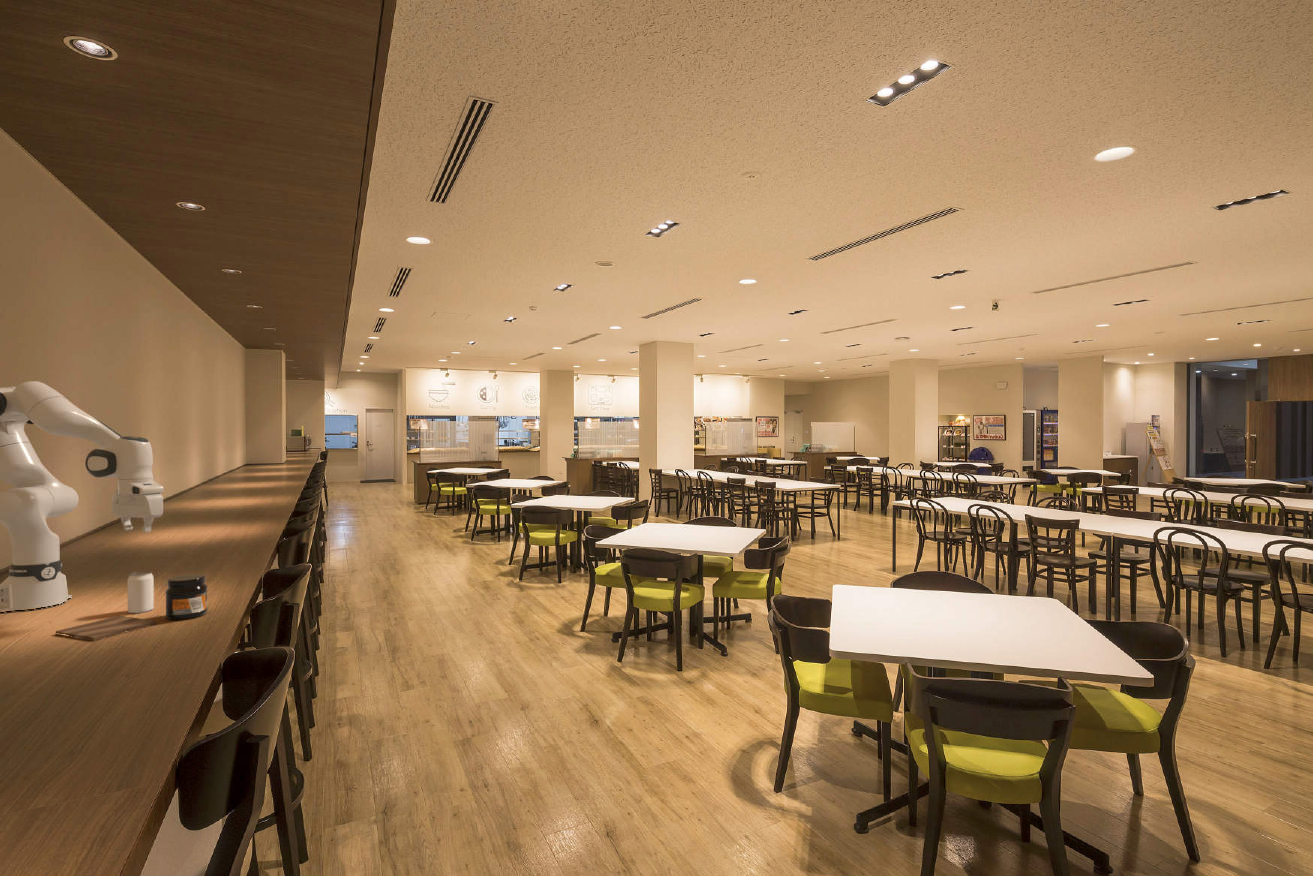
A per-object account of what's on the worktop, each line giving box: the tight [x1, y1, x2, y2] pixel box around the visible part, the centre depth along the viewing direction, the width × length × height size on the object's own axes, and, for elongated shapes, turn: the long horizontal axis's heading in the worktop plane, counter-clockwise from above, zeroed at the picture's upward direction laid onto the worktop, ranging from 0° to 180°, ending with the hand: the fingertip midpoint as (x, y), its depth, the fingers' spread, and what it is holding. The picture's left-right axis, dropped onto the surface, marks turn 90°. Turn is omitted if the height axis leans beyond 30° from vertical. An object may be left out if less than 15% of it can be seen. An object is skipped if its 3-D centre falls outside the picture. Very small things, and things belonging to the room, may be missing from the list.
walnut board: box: [55, 615, 157, 642], centre depth 184 cm, size 16×16×1 cm
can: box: [127, 571, 155, 614], centre depth 203 cm, size 6×6×12 cm
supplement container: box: [164, 573, 208, 621], centre depth 198 cm, size 10×10×12 cm
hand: (137, 531), depth 202 cm, fingers open, 8 cm apart
